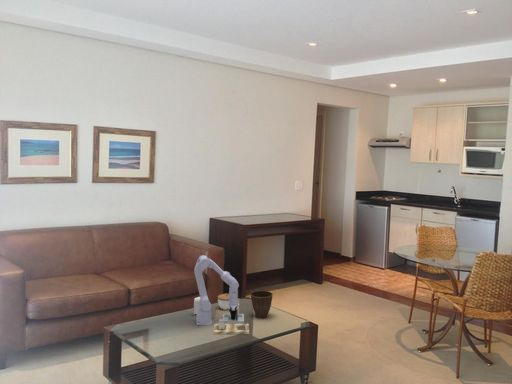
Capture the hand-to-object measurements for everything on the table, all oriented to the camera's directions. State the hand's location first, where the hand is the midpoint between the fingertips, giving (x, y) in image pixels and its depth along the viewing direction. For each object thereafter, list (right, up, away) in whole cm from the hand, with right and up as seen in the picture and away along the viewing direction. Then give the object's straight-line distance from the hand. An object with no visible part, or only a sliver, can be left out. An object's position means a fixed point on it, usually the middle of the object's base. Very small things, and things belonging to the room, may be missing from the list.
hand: (233, 317), depth 318 cm
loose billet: (0, -2, 0) cm, 2 cm away
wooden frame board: (0, -4, -16) cm, 16 cm away
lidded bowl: (-6, -1, +25) cm, 26 cm away
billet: (-6, -4, -16) cm, 18 cm away
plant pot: (+19, -2, +9) cm, 21 cm away
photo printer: (-23, -1, +12) cm, 26 cm away
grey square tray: (0, -2, 0) cm, 2 cm away
